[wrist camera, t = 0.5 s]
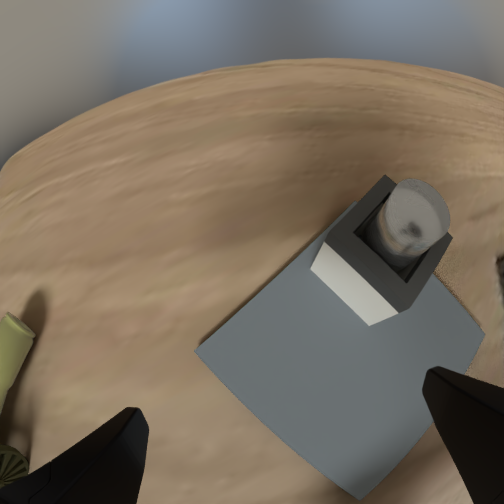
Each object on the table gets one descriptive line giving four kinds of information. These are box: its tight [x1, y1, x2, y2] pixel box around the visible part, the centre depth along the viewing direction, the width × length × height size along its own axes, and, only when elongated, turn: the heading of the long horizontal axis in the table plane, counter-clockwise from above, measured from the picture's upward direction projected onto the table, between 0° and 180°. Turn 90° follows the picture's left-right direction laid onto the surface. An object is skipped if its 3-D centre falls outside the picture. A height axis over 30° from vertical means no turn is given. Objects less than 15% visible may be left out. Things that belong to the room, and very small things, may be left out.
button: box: [361, 179, 450, 274], centre depth 16 cm, size 4×4×6 cm
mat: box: [194, 201, 485, 501], centre depth 21 cm, size 20×20×1 cm
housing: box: [310, 175, 453, 326], centre depth 20 cm, size 7×7×7 cm
